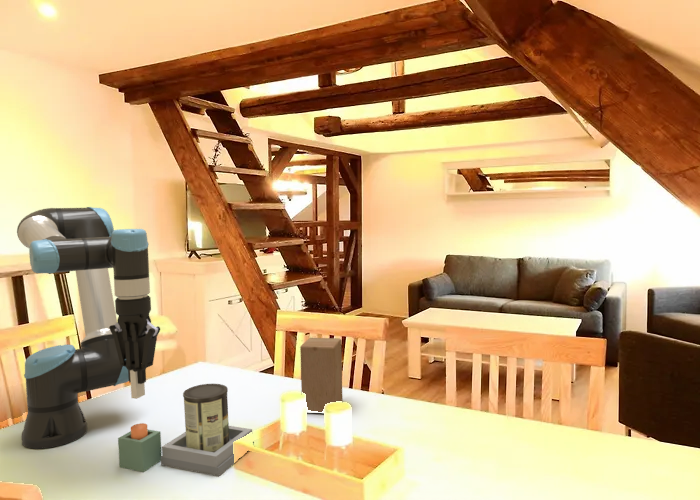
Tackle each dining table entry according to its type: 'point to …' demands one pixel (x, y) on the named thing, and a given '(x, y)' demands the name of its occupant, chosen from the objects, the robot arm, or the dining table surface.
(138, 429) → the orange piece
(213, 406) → the coffee can
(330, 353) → the wooden block
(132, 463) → the green egg cup
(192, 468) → the tray
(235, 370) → the dining table surface
